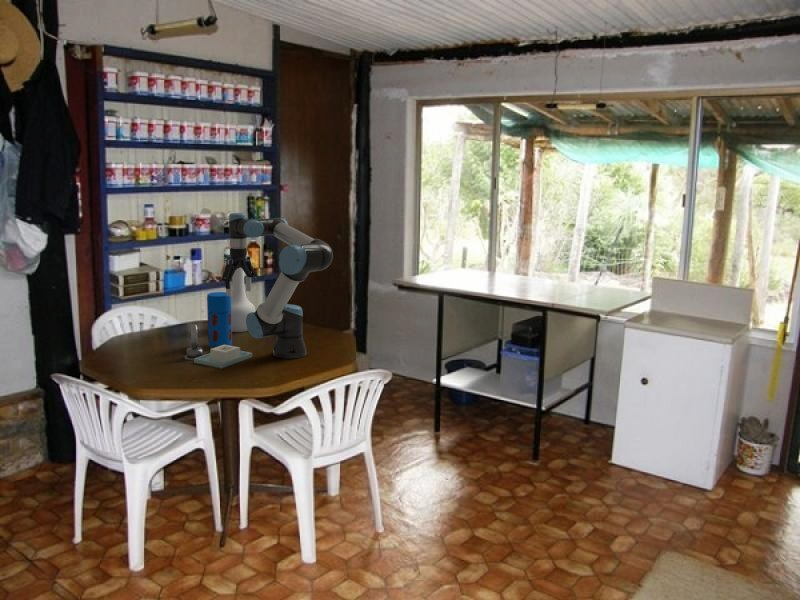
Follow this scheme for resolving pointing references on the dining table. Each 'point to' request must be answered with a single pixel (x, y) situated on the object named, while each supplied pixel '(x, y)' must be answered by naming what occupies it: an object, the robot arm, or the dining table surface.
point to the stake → (194, 345)
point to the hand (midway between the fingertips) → (239, 293)
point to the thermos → (219, 319)
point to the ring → (224, 353)
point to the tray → (208, 362)
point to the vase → (239, 303)
